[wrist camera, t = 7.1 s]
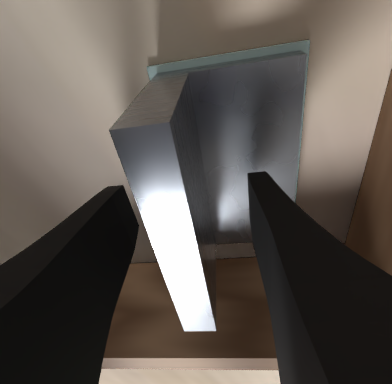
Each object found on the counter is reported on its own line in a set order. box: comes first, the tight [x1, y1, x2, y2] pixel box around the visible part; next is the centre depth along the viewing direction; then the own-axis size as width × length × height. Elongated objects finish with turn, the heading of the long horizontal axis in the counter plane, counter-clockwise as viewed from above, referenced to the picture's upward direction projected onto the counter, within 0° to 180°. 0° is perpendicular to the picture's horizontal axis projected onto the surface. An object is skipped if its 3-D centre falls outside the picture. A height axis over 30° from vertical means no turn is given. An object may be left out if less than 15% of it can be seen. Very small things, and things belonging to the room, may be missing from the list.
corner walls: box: [101, 70, 392, 370], centre depth 9 cm, size 14×14×5 cm
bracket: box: [109, 50, 307, 331], centre depth 9 cm, size 8×5×5 cm, turn 9°
